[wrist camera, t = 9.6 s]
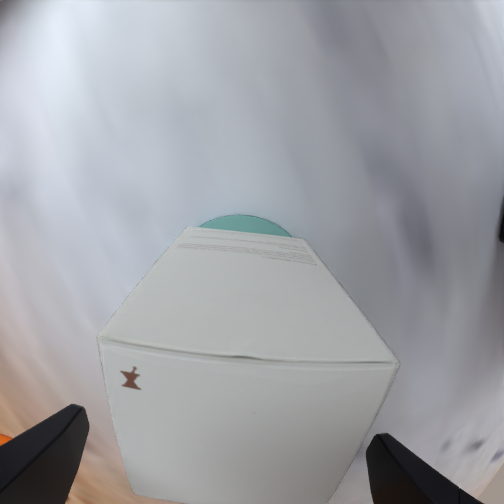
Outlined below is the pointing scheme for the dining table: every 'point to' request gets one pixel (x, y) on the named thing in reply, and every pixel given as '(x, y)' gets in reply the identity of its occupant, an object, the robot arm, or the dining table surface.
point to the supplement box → (241, 373)
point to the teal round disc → (246, 225)
